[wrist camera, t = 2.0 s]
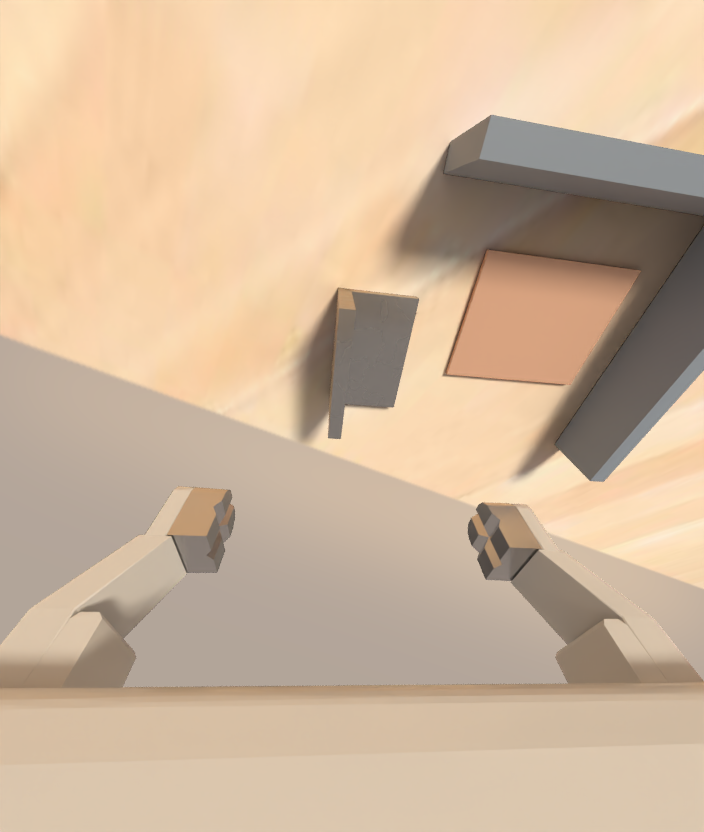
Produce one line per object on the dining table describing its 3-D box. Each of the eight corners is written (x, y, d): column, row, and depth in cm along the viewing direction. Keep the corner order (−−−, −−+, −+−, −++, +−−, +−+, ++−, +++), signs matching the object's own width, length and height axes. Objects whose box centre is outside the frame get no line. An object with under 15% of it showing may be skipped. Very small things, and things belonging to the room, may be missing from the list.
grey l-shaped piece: (383, 434, 24) (392, 472, 21) (450, 141, 14) (491, 114, 10) (566, 445, 26) (603, 481, 22) (746, 193, 16) (868, 186, 12)
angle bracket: (391, 401, 23) (404, 442, 19) (329, 397, 22) (328, 438, 18) (416, 296, 18) (440, 318, 14) (338, 287, 18) (339, 308, 13)
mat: (445, 372, 21) (447, 374, 21) (486, 249, 17) (489, 250, 16) (567, 382, 22) (570, 384, 22) (637, 269, 18) (641, 270, 17)
